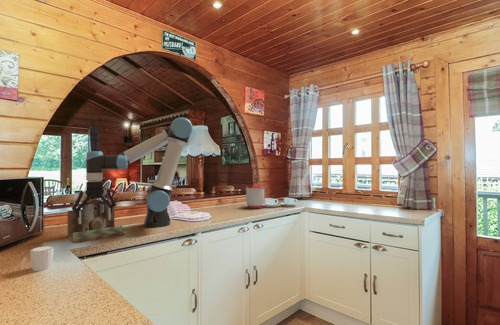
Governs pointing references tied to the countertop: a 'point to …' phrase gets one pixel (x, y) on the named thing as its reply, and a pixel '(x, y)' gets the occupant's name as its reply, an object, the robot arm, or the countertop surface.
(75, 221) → the wall rack
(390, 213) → the countertop surface
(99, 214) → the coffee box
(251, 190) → the citrus juicer
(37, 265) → the white cylinder
